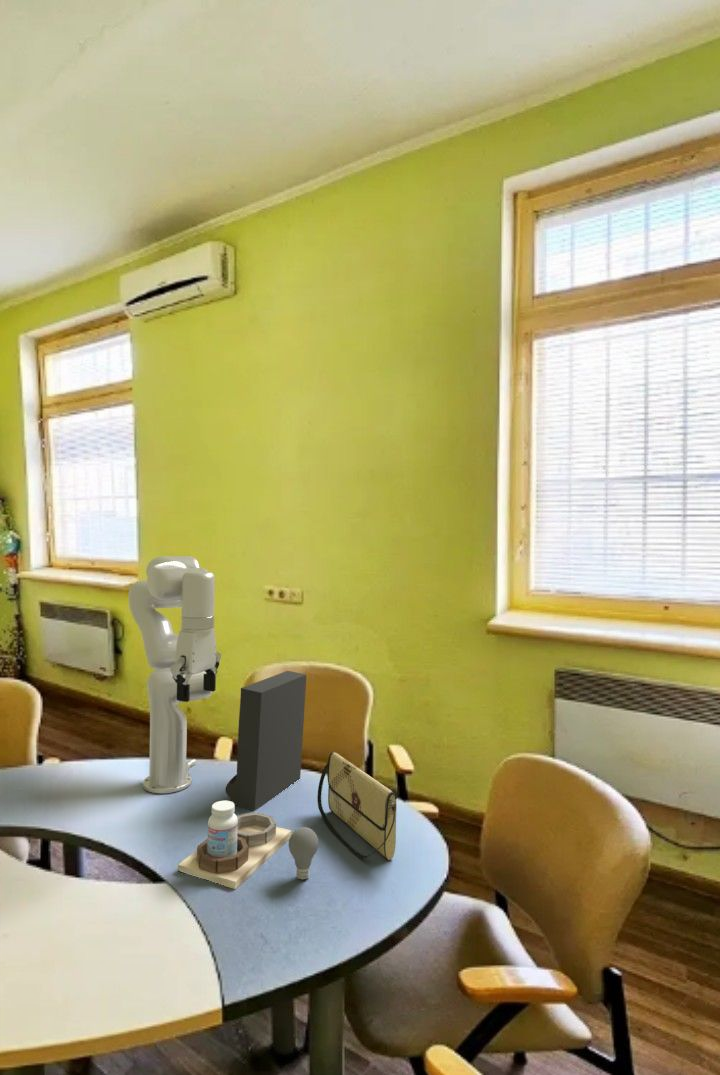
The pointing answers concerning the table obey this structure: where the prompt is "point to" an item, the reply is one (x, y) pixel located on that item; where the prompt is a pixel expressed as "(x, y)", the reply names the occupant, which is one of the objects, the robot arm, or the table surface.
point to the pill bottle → (222, 830)
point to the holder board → (239, 852)
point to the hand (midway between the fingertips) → (196, 695)
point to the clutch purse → (360, 805)
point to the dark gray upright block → (268, 739)
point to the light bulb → (303, 849)
